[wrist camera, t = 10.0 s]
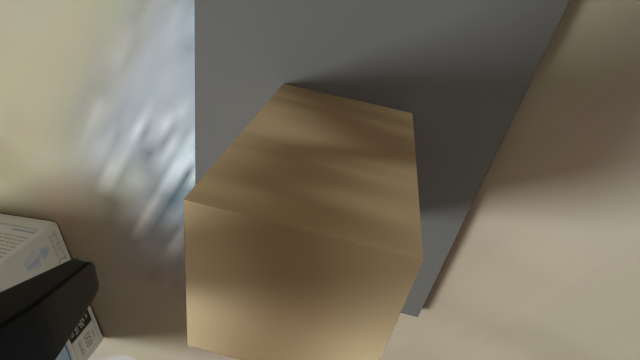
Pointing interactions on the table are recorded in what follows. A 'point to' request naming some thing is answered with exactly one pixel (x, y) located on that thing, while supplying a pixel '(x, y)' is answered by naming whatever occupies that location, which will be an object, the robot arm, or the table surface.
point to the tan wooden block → (305, 232)
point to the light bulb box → (35, 258)
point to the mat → (381, 83)
